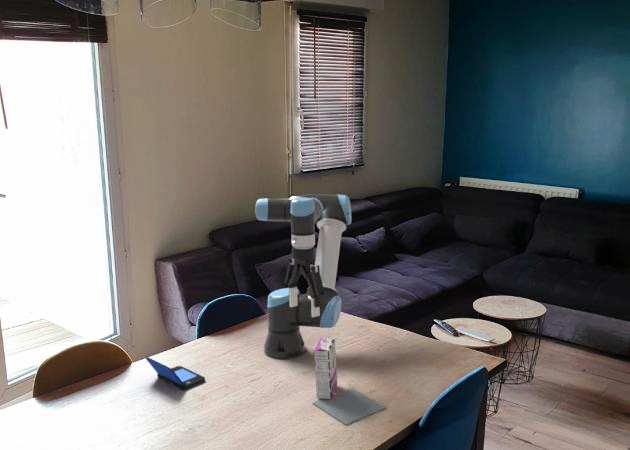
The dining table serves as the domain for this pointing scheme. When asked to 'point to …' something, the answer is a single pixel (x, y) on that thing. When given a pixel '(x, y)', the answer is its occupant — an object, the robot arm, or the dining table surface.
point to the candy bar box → (325, 368)
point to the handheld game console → (176, 375)
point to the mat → (349, 406)
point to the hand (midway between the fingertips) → (304, 311)
